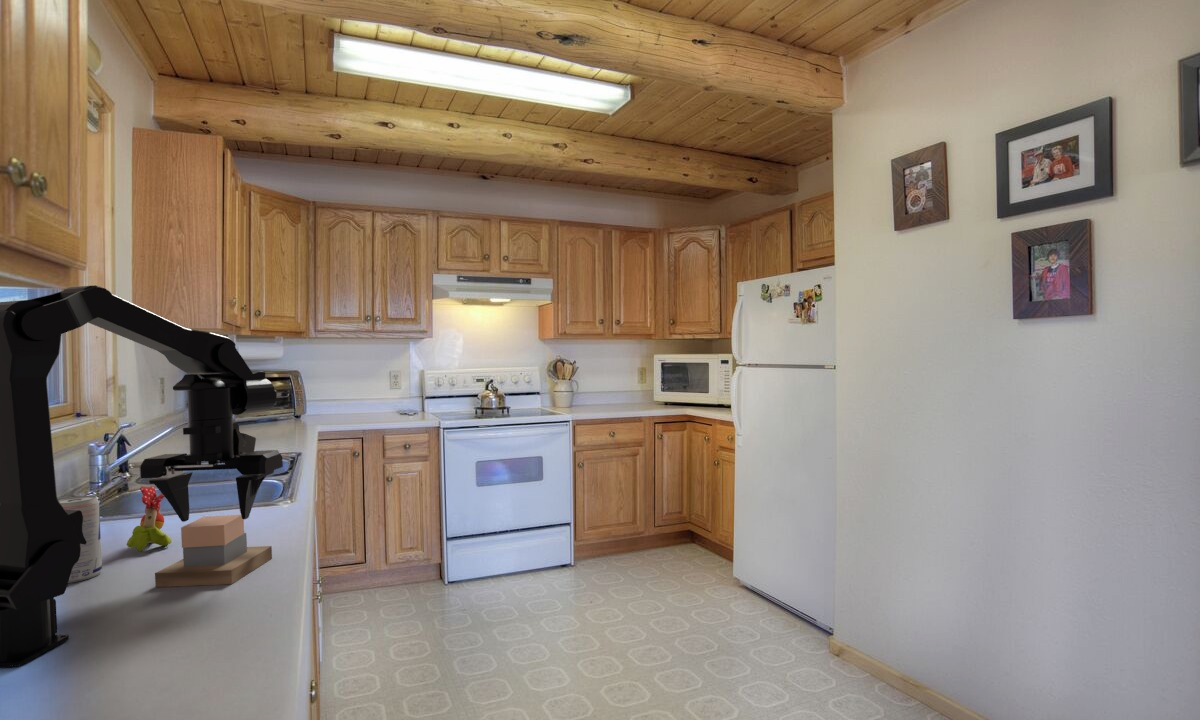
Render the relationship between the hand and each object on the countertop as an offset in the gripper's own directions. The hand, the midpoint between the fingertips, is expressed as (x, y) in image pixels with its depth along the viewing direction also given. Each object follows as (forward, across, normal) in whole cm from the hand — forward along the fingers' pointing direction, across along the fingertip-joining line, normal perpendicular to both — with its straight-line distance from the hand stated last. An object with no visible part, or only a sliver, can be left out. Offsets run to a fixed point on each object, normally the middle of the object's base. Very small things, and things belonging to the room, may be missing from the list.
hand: (215, 519), depth 94 cm
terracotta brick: (+3, 0, 0) cm, 3 cm away
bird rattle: (+8, +21, -15) cm, 27 cm away
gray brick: (+6, 0, 0) cm, 6 cm away
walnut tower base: (+8, 0, 0) cm, 8 cm away
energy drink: (+8, +21, 0) cm, 23 cm away
